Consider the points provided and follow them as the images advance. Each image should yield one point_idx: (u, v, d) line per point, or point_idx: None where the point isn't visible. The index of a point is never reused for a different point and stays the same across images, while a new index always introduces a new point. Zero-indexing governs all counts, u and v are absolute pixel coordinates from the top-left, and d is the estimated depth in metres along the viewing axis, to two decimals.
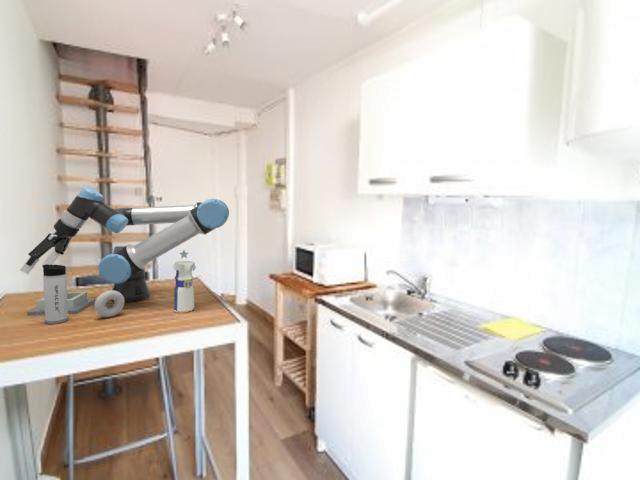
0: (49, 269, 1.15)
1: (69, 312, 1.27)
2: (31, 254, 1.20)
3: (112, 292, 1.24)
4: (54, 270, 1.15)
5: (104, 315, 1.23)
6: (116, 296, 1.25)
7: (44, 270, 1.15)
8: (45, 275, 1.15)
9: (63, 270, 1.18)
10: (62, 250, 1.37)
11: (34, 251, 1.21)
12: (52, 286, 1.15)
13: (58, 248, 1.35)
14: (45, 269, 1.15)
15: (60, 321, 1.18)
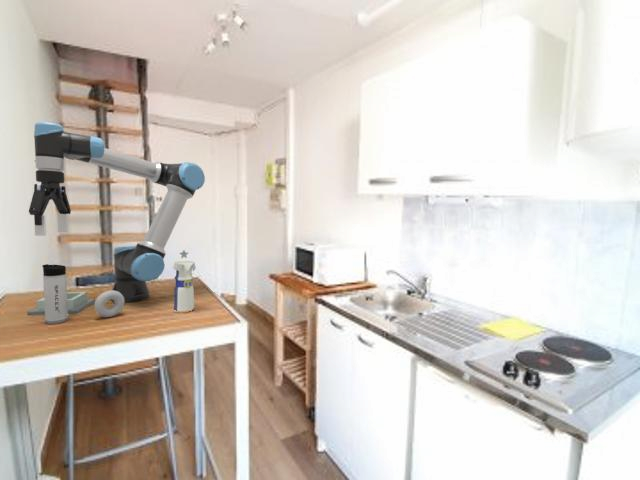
0: (49, 269, 1.15)
1: (69, 312, 1.27)
2: (31, 210, 1.06)
3: (112, 292, 1.24)
4: (54, 270, 1.15)
5: (104, 315, 1.23)
6: (116, 296, 1.25)
7: (44, 270, 1.15)
8: (45, 275, 1.15)
9: (63, 270, 1.18)
10: (66, 209, 1.23)
11: (32, 206, 1.06)
12: (52, 286, 1.15)
13: (60, 207, 1.21)
14: (45, 269, 1.15)
15: (60, 321, 1.18)
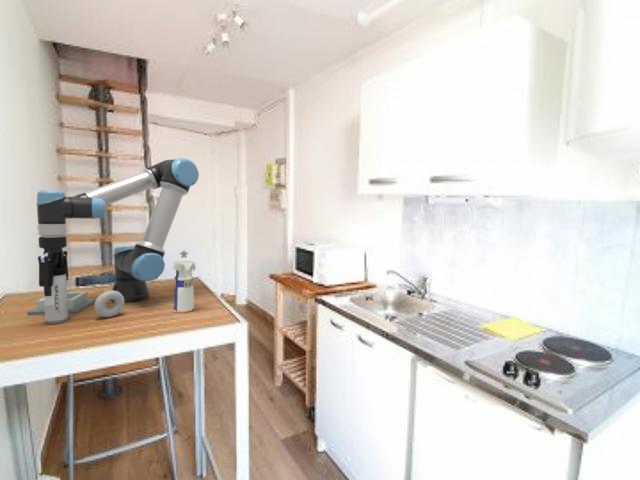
0: None
1: (69, 312, 1.27)
2: (41, 283, 1.11)
3: (112, 292, 1.24)
4: (54, 270, 1.15)
5: (104, 315, 1.23)
6: (116, 296, 1.25)
7: None
8: None
9: (63, 270, 1.18)
10: None
11: (41, 280, 1.11)
12: None
13: None
14: None
15: (60, 321, 1.18)
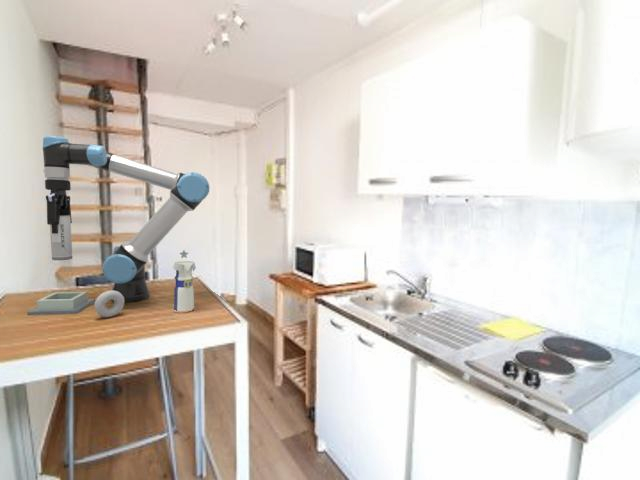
0: None
1: (69, 312, 1.27)
2: (49, 221, 1.22)
3: (112, 292, 1.24)
4: (60, 210, 1.26)
5: (104, 315, 1.23)
6: (116, 297, 1.25)
7: None
8: None
9: (68, 211, 1.28)
10: None
11: (49, 217, 1.22)
12: None
13: None
14: None
15: (66, 258, 1.28)
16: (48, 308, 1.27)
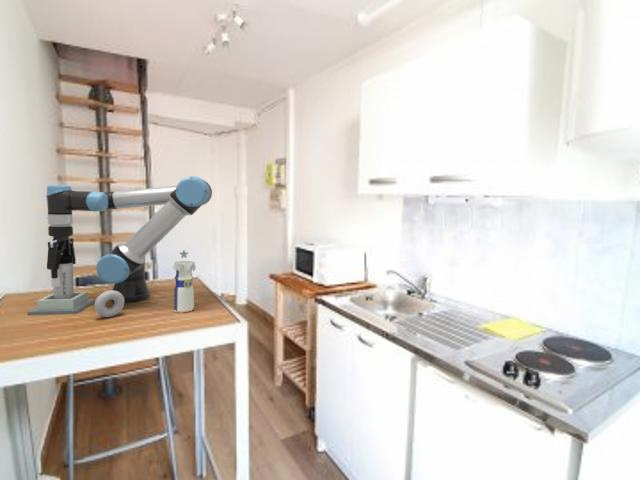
0: None
1: (69, 312, 1.27)
2: (49, 266, 1.24)
3: (112, 292, 1.24)
4: (62, 259, 1.29)
5: (104, 315, 1.23)
6: (116, 297, 1.25)
7: None
8: None
9: (70, 259, 1.32)
10: None
11: (49, 263, 1.24)
12: (60, 273, 1.30)
13: None
14: None
15: None
16: (48, 308, 1.27)
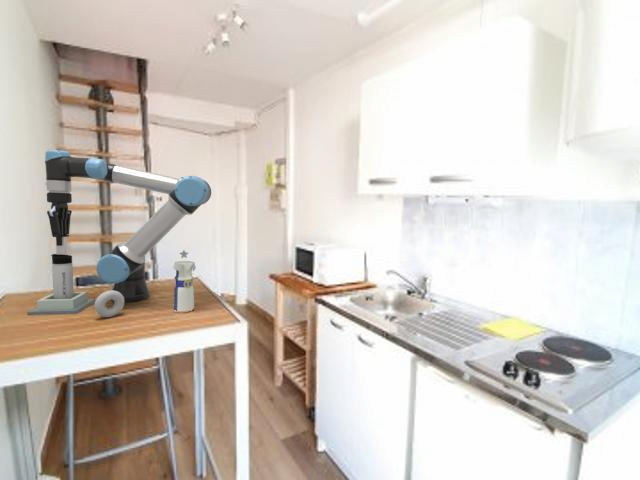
0: (57, 258, 1.29)
1: (69, 312, 1.27)
2: (54, 233, 1.27)
3: (112, 292, 1.24)
4: (62, 259, 1.29)
5: (104, 315, 1.23)
6: (116, 296, 1.25)
7: (53, 259, 1.29)
8: (54, 263, 1.29)
9: (70, 259, 1.32)
10: (66, 232, 1.33)
11: (53, 231, 1.27)
12: (60, 273, 1.30)
13: None
14: (54, 258, 1.29)
15: None
16: (48, 308, 1.27)
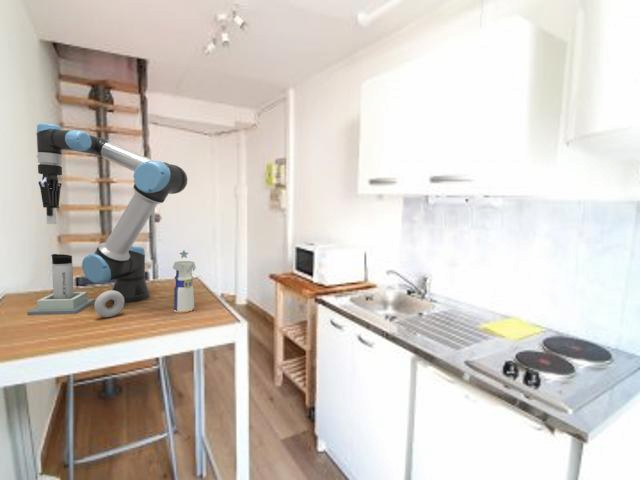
0: (57, 258, 1.29)
1: (69, 312, 1.27)
2: (45, 204, 1.33)
3: (112, 292, 1.24)
4: (62, 259, 1.29)
5: (104, 315, 1.23)
6: (116, 296, 1.25)
7: (53, 259, 1.29)
8: (54, 263, 1.29)
9: (70, 259, 1.32)
10: (56, 203, 1.39)
11: (44, 201, 1.33)
12: (60, 273, 1.30)
13: None
14: (54, 258, 1.29)
15: None
16: (48, 308, 1.27)
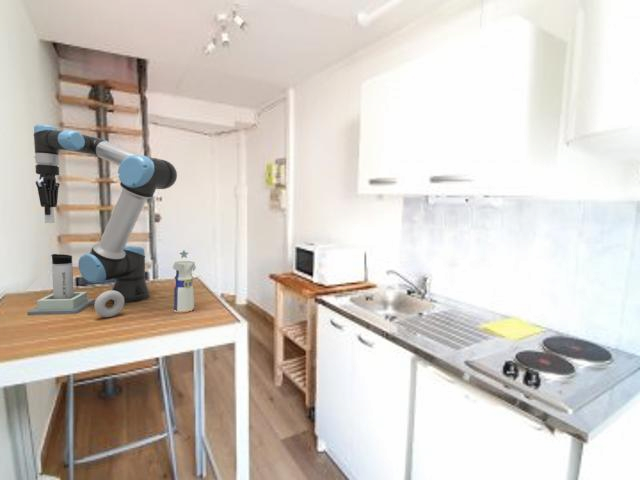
0: (57, 258, 1.29)
1: (69, 312, 1.27)
2: (42, 203, 1.37)
3: (112, 292, 1.24)
4: (62, 259, 1.29)
5: (104, 315, 1.23)
6: (116, 296, 1.25)
7: (53, 259, 1.29)
8: (54, 263, 1.29)
9: (70, 259, 1.32)
10: (54, 202, 1.42)
11: (42, 201, 1.36)
12: (60, 273, 1.30)
13: None
14: (54, 258, 1.29)
15: None
16: (48, 308, 1.27)
